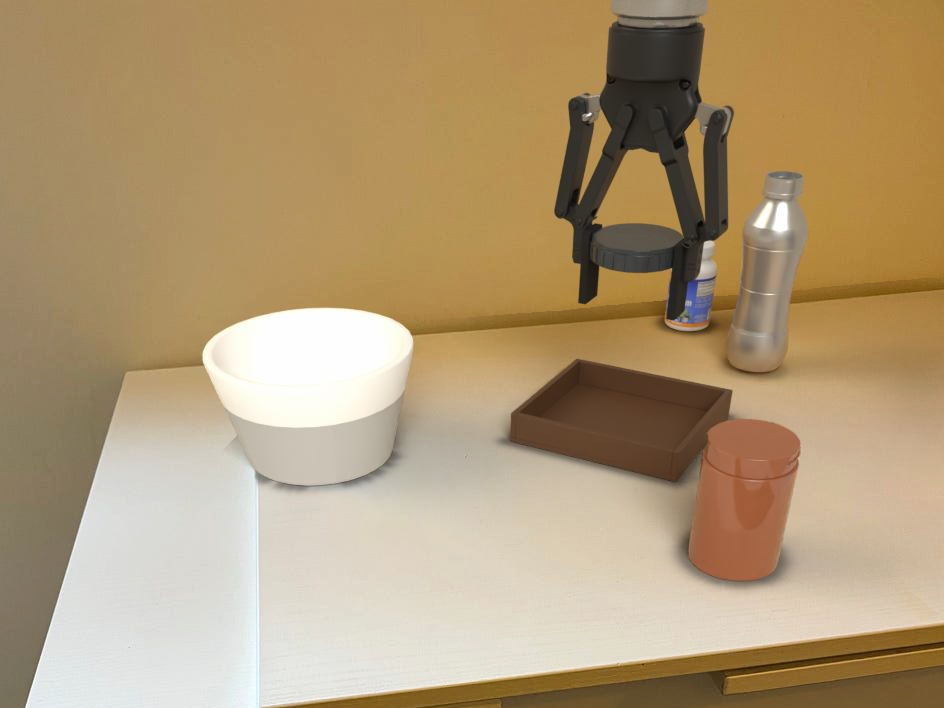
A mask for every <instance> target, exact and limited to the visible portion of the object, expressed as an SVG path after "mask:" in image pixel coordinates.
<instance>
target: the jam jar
mask: <svg viewBox="0 0 944 708" xmlns="http://www.w3.org/2000/svg"><path fill="white" fill-rule="evenodd" d="M707 435H708V437H707V444H706V445H705V447H704V448H703V449H702V453H701V460H700V467H699V474H698V479H697V488H696V494H695V502H694V508H693V514H692V521H691V528H690V534H689V541H688V542H689V543H688V549H687V554H688V555H687V556H688V558H689V560H690V562H691V563H692V564H693V565H694V566H695V567H696V568H697V569H698V570H700V571H702V573H705V574H707V575H709V576H711V577H715V578H717V579H721V580H726V581H734V582H746V581H747V582H748V581H755V580H760V579H762V578H765V577H767V576H769V575H770V574H772V573H773V572H774V571H775V570H776V568H777V567H778V564H779V559H780V555H781V550H782V546H783V541H784V536H785V532H786V528H787V522H788V518H789V513H790V508H791V504H792V499H793V495H794V490H795V486H796V481H797V476H798V471H799V466H800V461H799V458H800V456H801V440H800V438H799V437H798V435H797V434H796V433H795V432H794V431H792V430H791V429H789V428H787V426H786V427H785V426H783V425H781V424H778V423H775V422H772V421H767V420H764V419H763V420H762V419H755V418H753V419H752V418H738V419H737V418H736V419H729V420H726V421H725V422H722V423H719V424H717V425H715V426H714V427H712V428H710V429H709V431H708V432H707Z"/></svg>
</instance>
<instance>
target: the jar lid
mask: <svg viewBox="0 0 944 708" xmlns="http://www.w3.org/2000/svg"><path fill="white" fill-rule="evenodd" d="M683 238H684V237H683V234H682V232H680V231H678V230H676V229H674V228H671V227H668V226H664V225H659V224H652V223H642V222H641V223H640V222H629V223H628V222H627V223H617V224H610V225H606V226H602V228H600V229H598V230H596V231H595V232H594V233H593V234H592V241H591V243H590V256H591V260H592V261H593V262H594V263H595V264H597V265H598V266H599V267H601V268H603V269H606V270H609V271H615V272H620V273H627V274H629V273H630V274H649V273H659V272H663V271H667V270H668V271H669V270H671V268H672V265H673V256H674V247H675V244H677V243H678V242H679V241H681V240H682V239H683Z"/></svg>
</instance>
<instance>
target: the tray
mask: <svg viewBox="0 0 944 708" xmlns="http://www.w3.org/2000/svg"><path fill="white" fill-rule="evenodd" d="M733 393H734V391H733V389H731V388H730V389H729V388H724V387H719V386H715V385H710V384H705V383H700V382H694V381H689V380H686V379H685V380H684V379H680V378H676V377H670V376H666V375H660V374H654V373H651V372H647V371H641V370H634V369H630V368H626V367H620V366H615V365H611V364H605V363H600V362H597V361H590V360H586V359H581V358H576V359H574V360H573V361H572V362H571V363H569V364H568V365H567V366H566V367H564V368H563V369H562V370H561V371H560V372H558V374H556V375H555V376H554V377H552V378H551V379H550V380H549V381H548V382H547V383H545V384H544V385H543V386H542V387H541V388H539V389H538V390H537V391H535V393H534V394H532V395H531V396H530V397H528V399H526V400H525V401H524V402H522V403H521V405H519V406H518V407H517V408H515V410H513V411H512V412H511V413H510V431H509V432H510V433H509V434H510V438H509V439H510V440H509V441H510V442H512V443H514V444H515V443H516V444H520V445H524V446H526V447H527V446H528V447H530V448H531V447H533V448H536V449H540V450H545V451H547V452H552V453H556V454H560V455H564V456H568V457H572V458H577V459H580V460H584V461H589V462H592V463H598V464H601V465H605V466H609V467H614V468H617V469H621V470H625V471H629V472H633V473H636V474H641V475H645V476H650V477H654V478H658V479H662V480H667V481H670V482H674V483H676V482H677V481H678V480H679V479H680V477H681V476H682V475H683V474H684V473H685V471H686V470H687V469H688V468H689V466H690V465H691V464H692V462H693V461H694V460H695V459H696V458H697V456H698V455H699V454H700V453H701V452H702V451H703V450H704V449H705V447H706V444H707V437H708V435H707V432H708V431H709V429H710V428H712V427H714V426H715V425H717V424H719V423H722V422H725V421H727V419H728V418H729V416H730V409H731V403H732V397H733Z"/></svg>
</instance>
